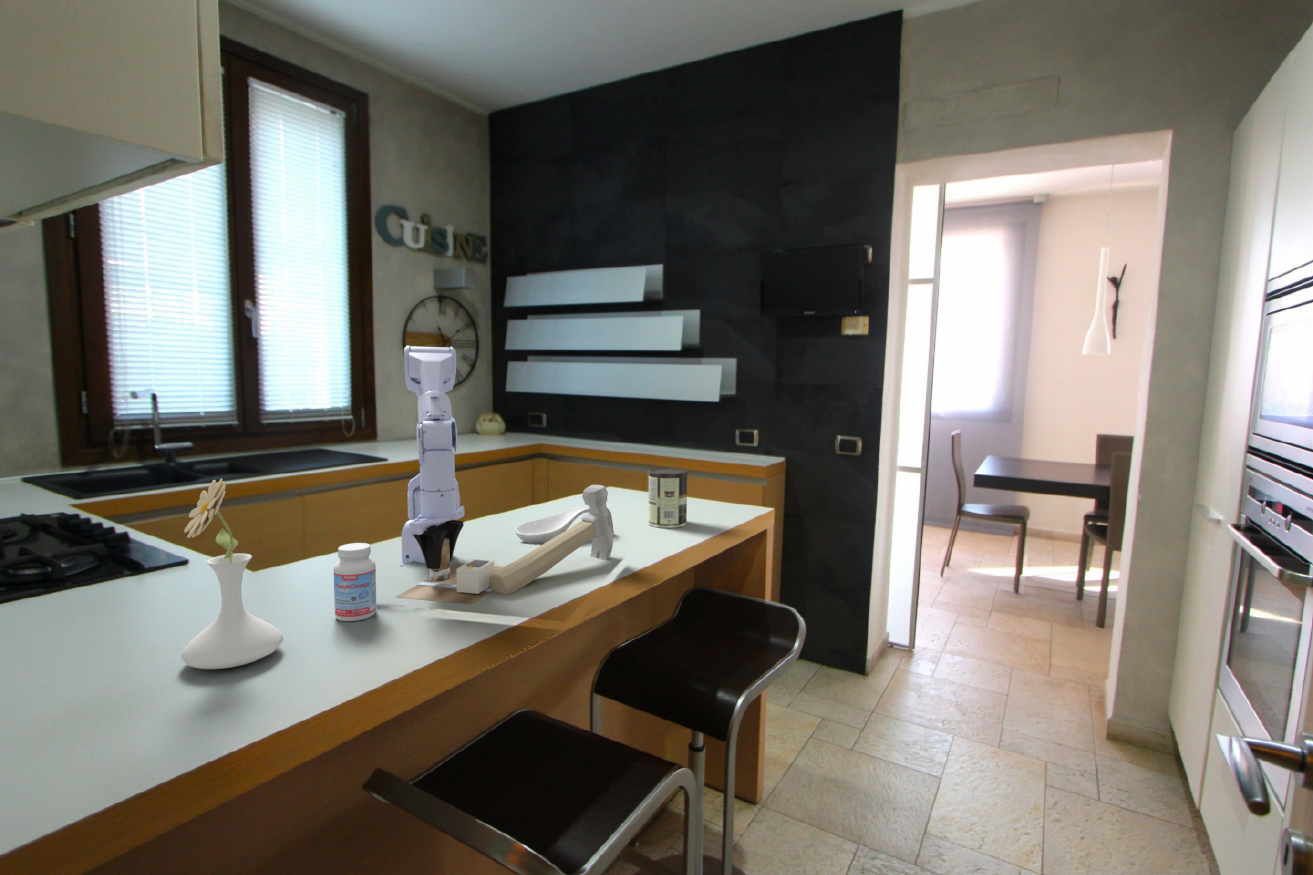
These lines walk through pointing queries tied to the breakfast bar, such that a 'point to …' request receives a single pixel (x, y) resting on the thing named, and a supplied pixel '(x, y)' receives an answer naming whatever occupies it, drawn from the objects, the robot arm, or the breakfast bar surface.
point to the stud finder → (474, 576)
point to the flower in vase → (227, 601)
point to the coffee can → (667, 497)
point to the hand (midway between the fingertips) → (439, 565)
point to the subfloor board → (444, 590)
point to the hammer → (561, 545)
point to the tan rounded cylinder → (442, 564)
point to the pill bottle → (354, 583)
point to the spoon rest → (548, 526)
